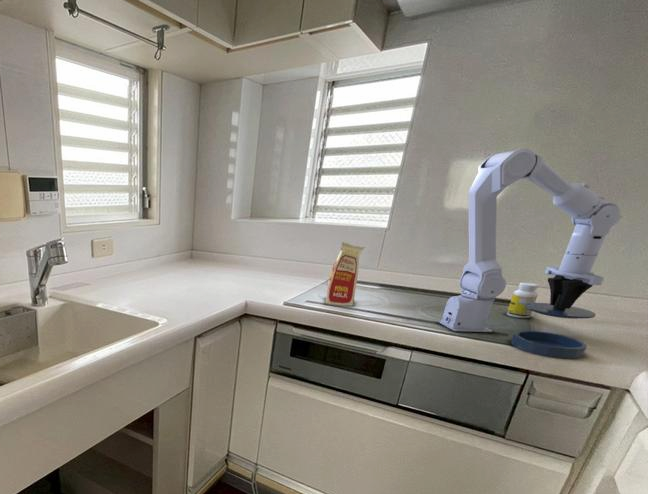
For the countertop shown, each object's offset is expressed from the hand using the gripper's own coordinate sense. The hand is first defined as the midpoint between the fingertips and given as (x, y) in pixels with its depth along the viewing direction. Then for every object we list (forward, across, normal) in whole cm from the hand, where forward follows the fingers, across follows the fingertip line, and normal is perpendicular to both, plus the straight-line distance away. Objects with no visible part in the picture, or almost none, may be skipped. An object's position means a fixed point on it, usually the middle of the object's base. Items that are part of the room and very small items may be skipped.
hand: (559, 306), depth 106 cm
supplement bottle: (+7, +15, -2) cm, 17 cm away
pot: (+7, -14, +11) cm, 19 cm away
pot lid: (+1, 0, 0) cm, 1 cm away
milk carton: (+7, +27, +46) cm, 54 cm away
